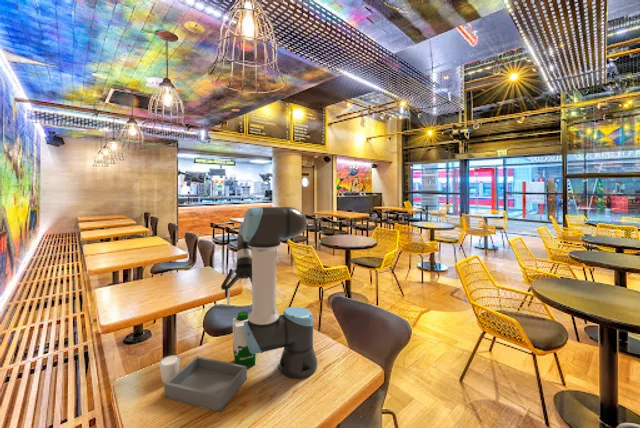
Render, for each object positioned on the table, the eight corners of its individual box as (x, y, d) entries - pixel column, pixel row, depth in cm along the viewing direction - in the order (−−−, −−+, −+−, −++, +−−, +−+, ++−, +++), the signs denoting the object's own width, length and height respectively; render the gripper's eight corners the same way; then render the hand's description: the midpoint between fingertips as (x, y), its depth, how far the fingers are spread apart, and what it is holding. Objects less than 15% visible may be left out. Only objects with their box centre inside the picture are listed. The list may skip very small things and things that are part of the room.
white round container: (157, 385, 99) (156, 367, 98) (162, 373, 105) (161, 356, 105) (178, 382, 101) (177, 364, 100) (182, 370, 107) (181, 353, 107)
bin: (246, 378, 103) (246, 366, 102) (220, 412, 87) (220, 397, 87) (197, 368, 109) (197, 356, 108) (164, 397, 93) (164, 383, 93)
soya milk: (252, 353, 118) (252, 309, 117) (258, 365, 110) (257, 318, 109) (231, 359, 114) (230, 313, 112) (236, 372, 106) (234, 322, 105)
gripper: (269, 262, 140) (272, 302, 127) (218, 265, 134) (215, 308, 121) (270, 255, 134) (273, 296, 121) (216, 257, 128) (213, 301, 115)
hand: (244, 302), depth 121 cm, fingers open, 13 cm apart
